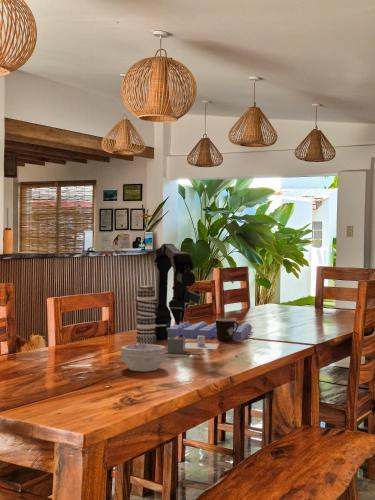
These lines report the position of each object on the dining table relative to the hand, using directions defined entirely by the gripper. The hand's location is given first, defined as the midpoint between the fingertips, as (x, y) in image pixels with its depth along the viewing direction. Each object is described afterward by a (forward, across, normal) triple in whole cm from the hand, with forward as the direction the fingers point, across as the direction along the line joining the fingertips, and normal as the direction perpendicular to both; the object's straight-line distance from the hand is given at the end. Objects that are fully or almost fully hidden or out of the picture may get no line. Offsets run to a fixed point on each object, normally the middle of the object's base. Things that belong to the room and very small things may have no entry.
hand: (179, 323), depth 259 cm
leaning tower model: (+12, +17, +17) cm, 27 cm away
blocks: (+13, +54, -7) cm, 56 cm away
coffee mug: (+12, +30, -17) cm, 37 cm away
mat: (+12, -5, 0) cm, 13 cm away
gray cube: (+11, -5, 0) cm, 12 cm away
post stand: (+12, +11, -7) cm, 18 cm away
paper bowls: (+11, -36, +7) cm, 39 cm away
